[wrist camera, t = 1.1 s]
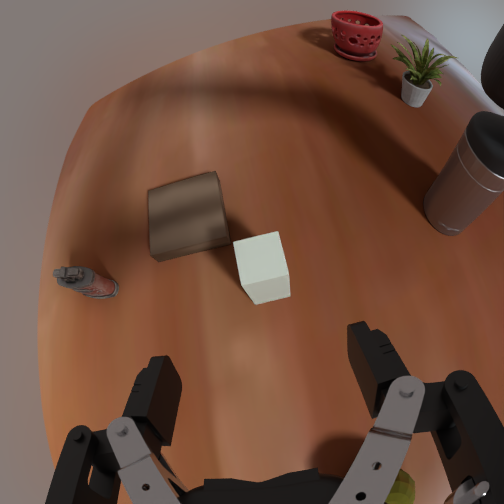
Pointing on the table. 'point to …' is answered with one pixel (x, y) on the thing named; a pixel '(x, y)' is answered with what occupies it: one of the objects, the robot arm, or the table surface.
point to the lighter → (86, 282)
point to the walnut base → (187, 217)
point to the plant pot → (356, 35)
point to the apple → (402, 490)
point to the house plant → (419, 74)
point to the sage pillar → (262, 267)
